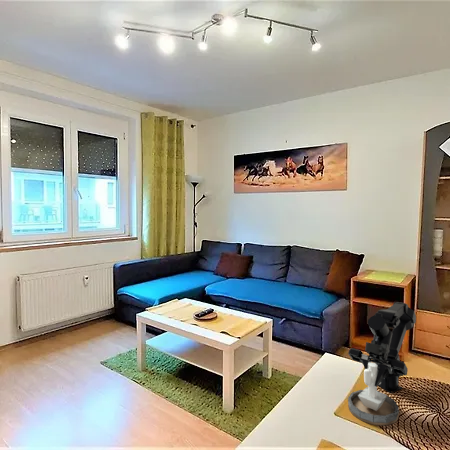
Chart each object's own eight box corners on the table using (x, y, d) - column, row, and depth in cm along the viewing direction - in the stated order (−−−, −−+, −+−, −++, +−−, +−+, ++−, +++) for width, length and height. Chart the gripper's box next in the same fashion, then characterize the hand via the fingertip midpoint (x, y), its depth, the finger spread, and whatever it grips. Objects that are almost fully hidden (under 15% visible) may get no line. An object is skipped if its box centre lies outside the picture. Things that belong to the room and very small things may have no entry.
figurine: (388, 403, 116) (388, 362, 115) (377, 416, 109) (377, 372, 108) (368, 395, 121) (368, 355, 120) (356, 406, 115) (356, 365, 113)
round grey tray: (372, 391, 125) (371, 386, 125) (408, 414, 111) (408, 409, 111) (339, 401, 119) (339, 396, 119) (373, 428, 105) (373, 422, 105)
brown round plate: (372, 392, 125) (372, 390, 125) (409, 417, 111) (409, 414, 111) (338, 403, 119) (338, 401, 119) (373, 431, 105) (373, 428, 105)
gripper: (349, 326, 123) (337, 367, 115) (404, 339, 110) (395, 385, 103) (358, 340, 129) (347, 379, 122) (411, 353, 116) (402, 397, 109)
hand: (371, 384), depth 113 cm, fingers closed on figurine, 3 cm apart
